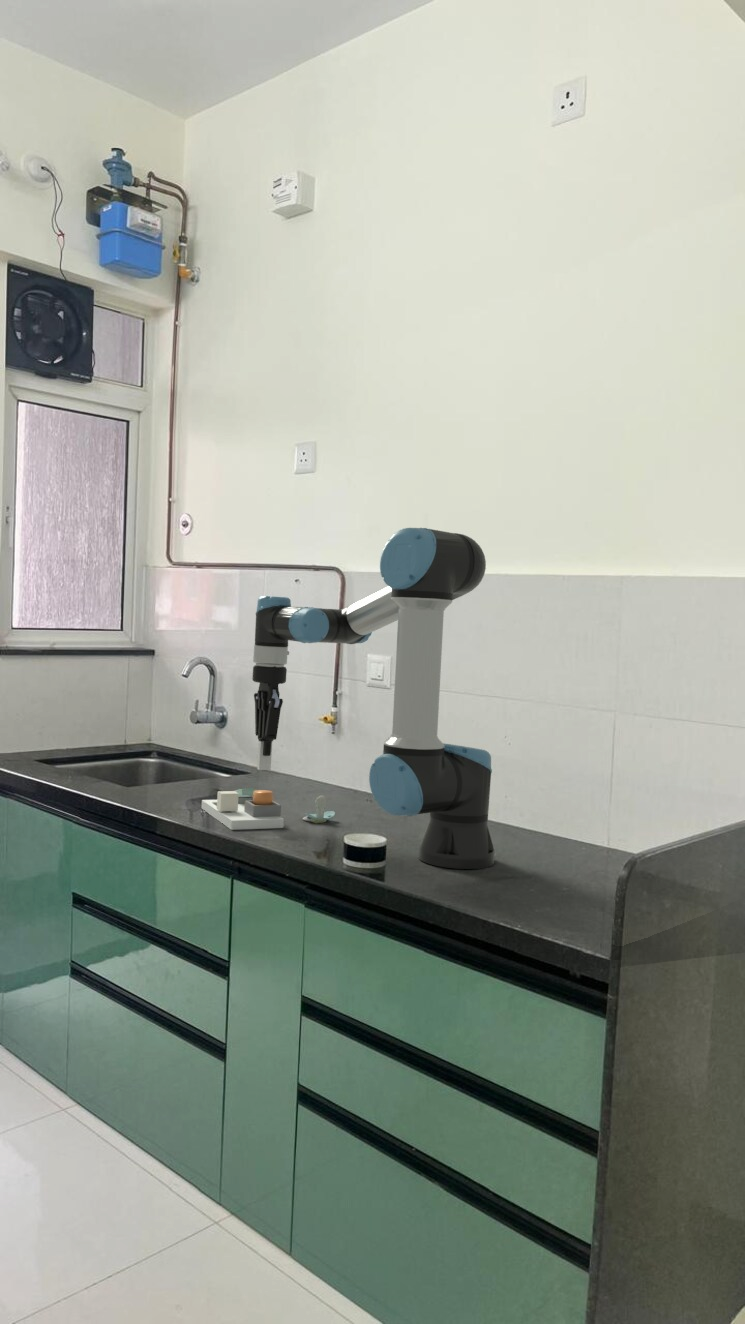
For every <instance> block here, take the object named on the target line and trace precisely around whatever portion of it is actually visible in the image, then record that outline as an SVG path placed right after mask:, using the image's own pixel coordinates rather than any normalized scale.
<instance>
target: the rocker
mask: <svg viewBox="0 0 745 1324" xmlns="http://www.w3.org/2000/svg"><path fill="white" fill-rule="evenodd" d="M256 790H257V788H256V787H255V788H251V787H250V788H240V789H236V790H234V791H235V792H237V793H239V796H238V797H253V795H254V791H256Z"/></svg>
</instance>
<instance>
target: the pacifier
mask: <svg viewBox="0 0 745 1324" xmlns="http://www.w3.org/2000/svg"><path fill="white" fill-rule="evenodd" d="M327 802H328V800H327V798H326V797H325V796H324V795H319V796H317V797H316V799H315V801H314V807H315V809H316V810H315V813H307V812H304V815H306V816H304V817H302V820H303V821H305V822H306V821H307V822H311V823H317V824H319V823H321V824H322V823H326V822H327V820H331V819H332V818H334V817H335V814H336V812H335V811H334V810H328V811H325V807H326V805H327Z"/></svg>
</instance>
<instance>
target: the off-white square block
mask: <svg viewBox="0 0 745 1324" xmlns="http://www.w3.org/2000/svg"><path fill="white" fill-rule="evenodd" d="M238 796H239V793H237V792H235V790H229V791H228V790H226V791H225V790H222V791H217V798H216V800H217V809H218V810H219V811H220V812H222V811H238Z"/></svg>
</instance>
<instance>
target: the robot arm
mask: <svg viewBox="0 0 745 1324" xmlns="http://www.w3.org/2000/svg"><path fill="white" fill-rule="evenodd" d="M379 559H380V560H379V572H380V575H381V577H382V578H383V582H384V584H385V585H386V586H384V587H383V588H382V589H379V590H378V591H375V592H374V593H371V594H369V595H368V596H365V597H364V598H362V599H359V600H357V601H356V602H354V603H352V604H350V605H348V606H345V607H344V608H341V609H340V608H339V609H338V608H337V609H336V608H334V609H333V608H319V607H318V608H317V607H313V606H312V607H308V606H292V603H291V602H292V600H291V598H289V597H286V596H285V597H284V596H274V595H273V596H268V595H261V596H259V598H258V599H257V603H256V604H257V606H256V611H255V628H254V630H255V631H254V644H253V656H252V657H253V658H252V661H253V663H254V664H255V665H253V667H252V678H251V679H252V681H253V682H254V683H258V684H259V686H258V690H257V692H254V694H253V699H254V719H255V721H254V723H255V724H254V725H255V730H254V731H255V733H254V734H255V737H256V736H257V739H258V747H257V765H256V770H258V771H271V768H272V766H271V765H272V753H273V752H272V751H273V742H274V740H277V738H278V728H279V723H280V718H281V717H280V716H281V715H280V714H281V709H282V706H283V703H284V699H283V698H280V691H279V686H280V684H281V685H282V684H285V683H286V682H287V669H288V668H287V667H286V666H285V665H287V664H288V656H289V655H290V651H289V650H288V649H289V641H292V642H299V643H302V644H314V643H315V644H317V643H324V644H326V643H328V644H329V643H330V644H347V645H355V644H363V643H365V642H366V641H368V640H369V638H370V637H371V636H372V633H373V632H375V631H377V630H379V629H381V628H384V627H386V626H389V625H391V624H393V623H395V622H397V633H396V635H397V636H396V638H397V639H396V651H395V653H396V655H395V672H394V673H395V674H394V694H393V709H392V710H393V712H392V713H393V714H392V728H391V729H392V731H391V732H392V733H391V734H390V736H389V737H388V738H386V740H384V741H383V748H382V749H383V751H382V754H381V755H380V756H378V757H376V758H375V760H374V762H373V763H371V766H370V768H369V775H368V777H369V778H368V780H369V781H368V782H369V787H370V792H371V795H372V796H373V799H374V800H375V801H376V803H377V804H378V806H379V807H380V808H381V809H382V810H383V811H384V812H385V813H387V814H389V815H392V816H397V817H401V816H402V817H404V816H406V817H413V816H417V815H421V814H422V815H423V814H429V819H428V823H427V825H426V828H425V831H424V833H423V836H422V838H421V840H420V844H419V846H418V847H419V848H418V859H419V860H420V861H422V862H423V863H426V864H429V865H433V866H437V867H441V868H449V869H458V870H477V869H485V868H489V867H491V866H493V865H494V864H495V849H494V844H493V840H492V836H491V833H490V828H489V825H488V824H489V823H488V821H489V809H490V796H491V795H490V794H491V779H492V772H493V769H492V755H491V754H490V753H489V751H487V750H485V749H482V748H481V749H480V748H475V747H469V746H465V745H464V746H463V745H457V744H451V743H444V742H443V741H441V739H440V738H439V736H438V731H439V730H438V729H439V727H438V726H439V711H440V710H439V709H440V691H441V690H440V688H441V687H440V686H441V674H442V673H441V669H442V654H443V653H442V650H443V633H444V632H443V630H444V617H445V616H444V614H445V613H444V612H445V610H446V609H447V608H448V607H449V606H450V605H451V604H452V603H453V601H454V600H456V599H458V598H462V597H463V596H465V595H467V594H468V593H470V592H472V591H474V590H475V589H476V588H477V587H478V586H479V585H480V584H481V582H482V580H483V578H484V576H485V572H486V569H487V568H486V565H487V563H486V562H487V561H486V556H485V553H484V551H483V549H482V547H481V546H480V545H479V543H478V542H476V540H474V539H473V538H472V537H470V536H468V535H466V534H463V533H462V534H461V533H457V532H456V533H455V532H449V531H443V530H438V529H437V530H436V529H432V528H428V527H405V528H402V529H399V530H398V531H396V532H395V533H394V534H392V535H391V537H390V539H388V540H387V541H386V543H385V545H384V547H383V549H382V552H381V554H380V558H379Z"/></svg>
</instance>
